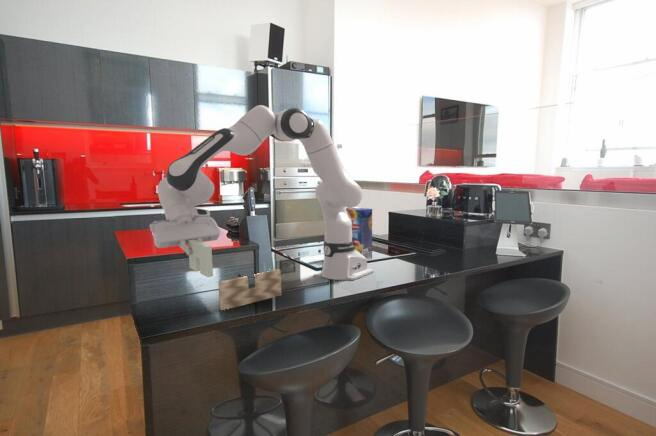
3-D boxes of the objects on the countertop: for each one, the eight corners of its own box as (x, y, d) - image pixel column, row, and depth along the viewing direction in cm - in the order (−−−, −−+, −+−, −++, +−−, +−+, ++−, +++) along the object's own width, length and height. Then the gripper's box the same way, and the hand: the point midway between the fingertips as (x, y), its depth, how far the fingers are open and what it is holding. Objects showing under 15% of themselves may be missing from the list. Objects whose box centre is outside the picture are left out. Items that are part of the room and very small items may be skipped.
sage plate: (194, 266, 123) (192, 239, 122) (213, 276, 112) (211, 245, 111) (189, 267, 122) (187, 240, 121) (207, 277, 111) (206, 246, 110)
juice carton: (372, 258, 185) (372, 208, 182) (361, 261, 180) (361, 210, 177) (354, 254, 194) (354, 207, 191) (343, 256, 189) (343, 208, 186)
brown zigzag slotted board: (278, 293, 135) (278, 269, 134) (281, 295, 134) (280, 269, 133) (220, 309, 121) (218, 281, 120) (222, 310, 120) (220, 282, 119)
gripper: (149, 215, 117) (162, 252, 111) (213, 209, 130) (227, 242, 124) (146, 228, 121) (158, 264, 115) (208, 221, 134) (222, 253, 128)
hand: (195, 253), depth 119 cm, fingers closed on sage plate, 2 cm apart
